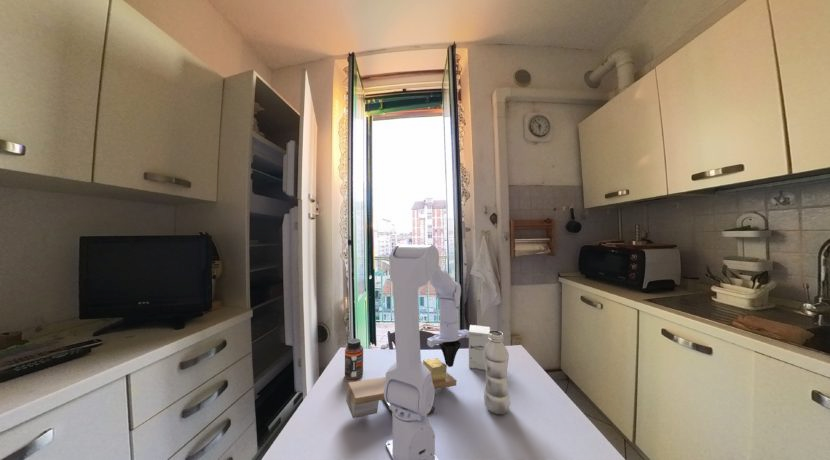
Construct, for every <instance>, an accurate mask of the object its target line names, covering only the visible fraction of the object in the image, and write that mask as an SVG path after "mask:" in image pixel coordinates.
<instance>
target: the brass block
mask: <svg viewBox="0 0 830 460" xmlns="http://www.w3.org/2000/svg"><path fill="white" fill-rule="evenodd" d="M422 361H423V362H422V363H423V364H424V365H425V366H426V367H427V368H428V370H429V371H430V372H431V376H432V382H437V381H443V380H445V378H446V372H447V368H448V366H447V365H446V363H445V362H442V360H440V359H439V358H427V359H423V360H422Z"/></svg>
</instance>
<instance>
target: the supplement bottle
mask: <svg viewBox="0 0 830 460" xmlns="http://www.w3.org/2000/svg"><path fill="white" fill-rule="evenodd" d="M361 344H362V343H361V339H360V338H351V339H349V340H348V341H347V347H345V349H344V377H345V378H346V379H347V380H351V381H352V380H358V379H359V378H361V377H362V376H363V374H364V346H362V345H361Z"/></svg>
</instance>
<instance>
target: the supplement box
mask: <svg viewBox="0 0 830 460" xmlns="http://www.w3.org/2000/svg"><path fill="white" fill-rule="evenodd" d="M468 331H469V338H468V368H469V369H478V370H482V371H486V366H485V359H484V348H485V346H486V344H487V343H488V342H489V339H488V337H489V331H491V327H490V326H486V325H485V326H484V325H476V324H470V325H469V329H468Z"/></svg>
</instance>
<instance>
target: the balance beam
mask: <svg viewBox="0 0 830 460" xmlns="http://www.w3.org/2000/svg"><path fill="white" fill-rule="evenodd" d="M385 381H386V376H384V377H379V378H378V377H377V378H371V379H365V380H363V379H362V380H357V381H349V382H348V384H347V389H346V390H347V391H346V398H345V402H346V405H347V408H348V409H349V412H350V414H351V417H352V419H358V418H362V417H366V416H370V415H375V414H378V409H379V402H380V401H383V400H384V399H385V398H384V386H385ZM433 385H434V388H435V391H436V390H441V389H444V388H450V387H456V386H457V379H456V378H454V377H453V376H452V375H451V374H450V373H449V372H447V371H446V378H445V380H443V381H437V382H433Z"/></svg>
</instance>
